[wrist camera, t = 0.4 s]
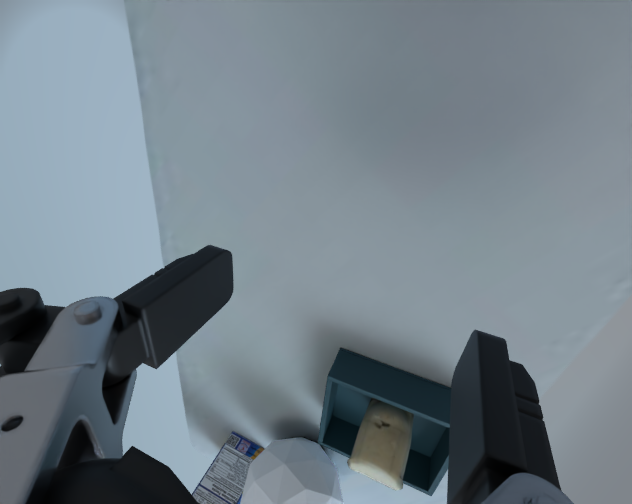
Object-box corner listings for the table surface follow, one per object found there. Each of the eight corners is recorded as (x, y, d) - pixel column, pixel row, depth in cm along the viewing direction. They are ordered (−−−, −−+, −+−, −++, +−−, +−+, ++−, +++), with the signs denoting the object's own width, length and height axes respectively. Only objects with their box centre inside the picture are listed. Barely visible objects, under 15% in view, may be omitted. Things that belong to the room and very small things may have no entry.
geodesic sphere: (241, 488, 52) (248, 609, 40) (220, 433, 46) (220, 557, 33) (328, 458, 55) (359, 562, 43) (319, 402, 49) (353, 505, 36)
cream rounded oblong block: (378, 424, 40) (361, 490, 34) (358, 394, 39) (337, 457, 33) (420, 422, 37) (411, 495, 31) (400, 389, 36) (386, 458, 30)
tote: (340, 347, 37) (327, 375, 34) (469, 394, 33) (469, 432, 30) (328, 414, 44) (317, 443, 41) (434, 459, 40) (431, 496, 36)
